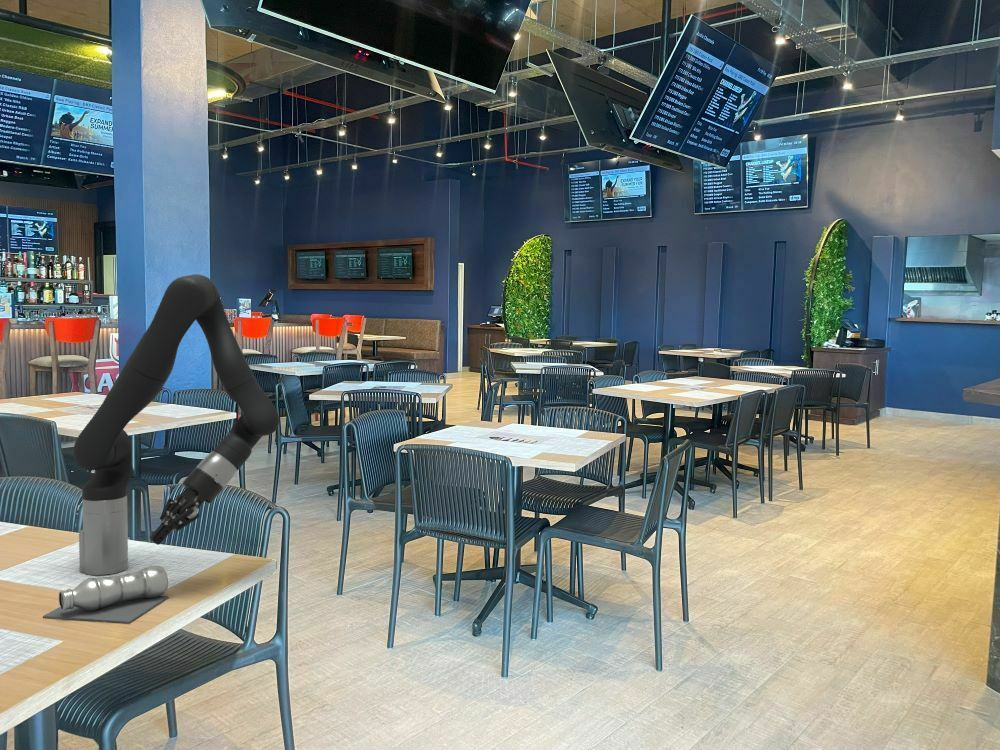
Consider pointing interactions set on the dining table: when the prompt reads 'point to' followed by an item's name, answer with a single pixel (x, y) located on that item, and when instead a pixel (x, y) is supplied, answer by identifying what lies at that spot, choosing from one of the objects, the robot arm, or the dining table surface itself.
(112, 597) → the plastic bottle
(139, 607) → the rubber mat
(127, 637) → the dining table surface
